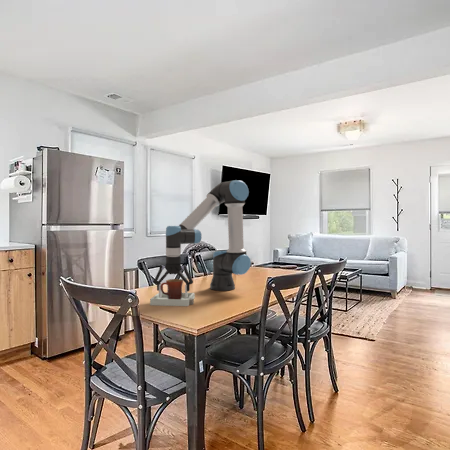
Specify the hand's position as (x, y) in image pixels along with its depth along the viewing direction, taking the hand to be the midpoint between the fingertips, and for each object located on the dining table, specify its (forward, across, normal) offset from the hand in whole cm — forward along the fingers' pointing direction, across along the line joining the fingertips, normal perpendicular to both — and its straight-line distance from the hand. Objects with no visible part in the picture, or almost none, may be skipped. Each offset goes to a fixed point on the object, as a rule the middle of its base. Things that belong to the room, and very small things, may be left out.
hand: (173, 297), depth 182 cm
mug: (+2, +1, 0) cm, 2 cm away
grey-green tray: (+2, 0, 0) cm, 2 cm away
